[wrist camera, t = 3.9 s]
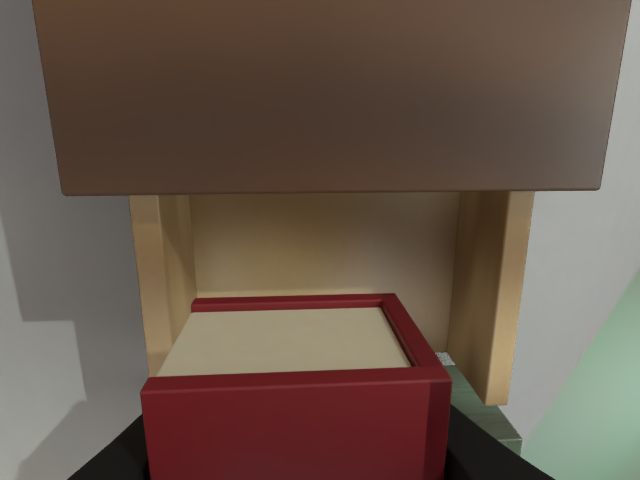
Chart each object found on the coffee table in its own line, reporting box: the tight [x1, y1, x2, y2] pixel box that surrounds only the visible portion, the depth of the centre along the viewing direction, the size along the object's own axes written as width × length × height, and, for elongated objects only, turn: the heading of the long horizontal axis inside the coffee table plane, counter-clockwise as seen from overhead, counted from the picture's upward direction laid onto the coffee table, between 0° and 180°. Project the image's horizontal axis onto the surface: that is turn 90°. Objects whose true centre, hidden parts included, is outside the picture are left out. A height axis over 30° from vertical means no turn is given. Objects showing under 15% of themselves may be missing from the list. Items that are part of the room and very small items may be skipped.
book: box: [140, 293, 453, 480], centre depth 8 cm, size 6×4×3 cm
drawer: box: [128, 191, 535, 456], centre depth 15 cm, size 17×13×5 cm
